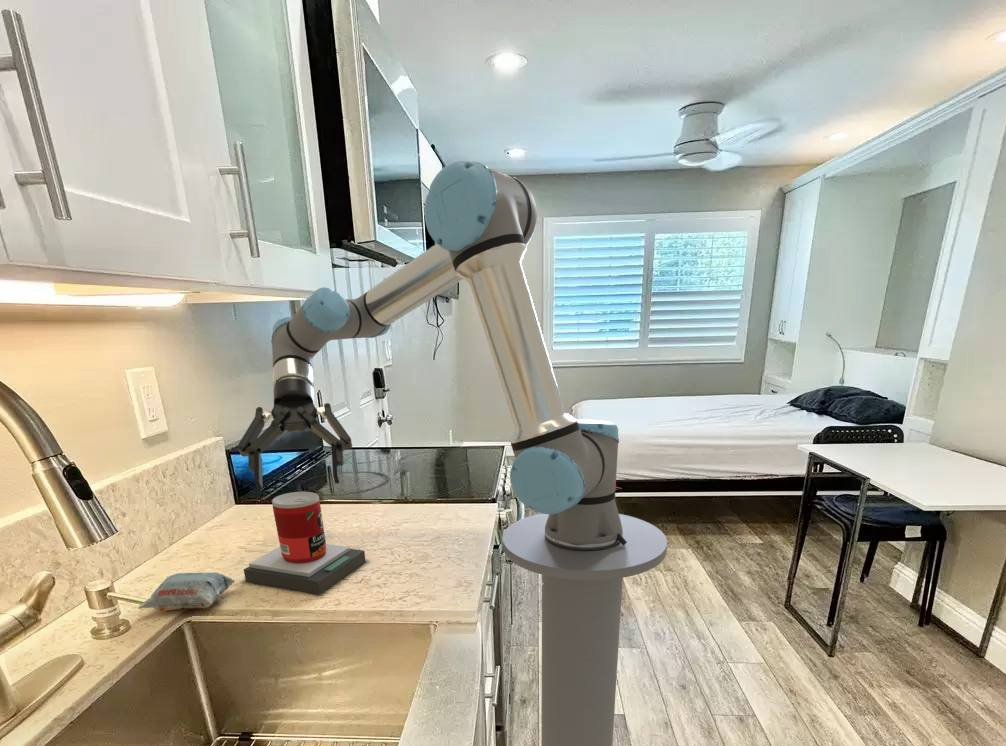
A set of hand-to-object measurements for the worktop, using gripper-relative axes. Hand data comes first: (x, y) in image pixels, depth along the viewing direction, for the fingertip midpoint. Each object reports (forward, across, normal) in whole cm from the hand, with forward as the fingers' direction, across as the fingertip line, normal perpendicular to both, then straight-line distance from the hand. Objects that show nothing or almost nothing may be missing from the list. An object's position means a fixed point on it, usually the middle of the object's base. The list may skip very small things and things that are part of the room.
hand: (297, 483), depth 104 cm
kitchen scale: (+14, 0, -7) cm, 16 cm away
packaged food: (+21, +18, -1) cm, 27 cm away
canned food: (+12, 0, -5) cm, 13 cm away
